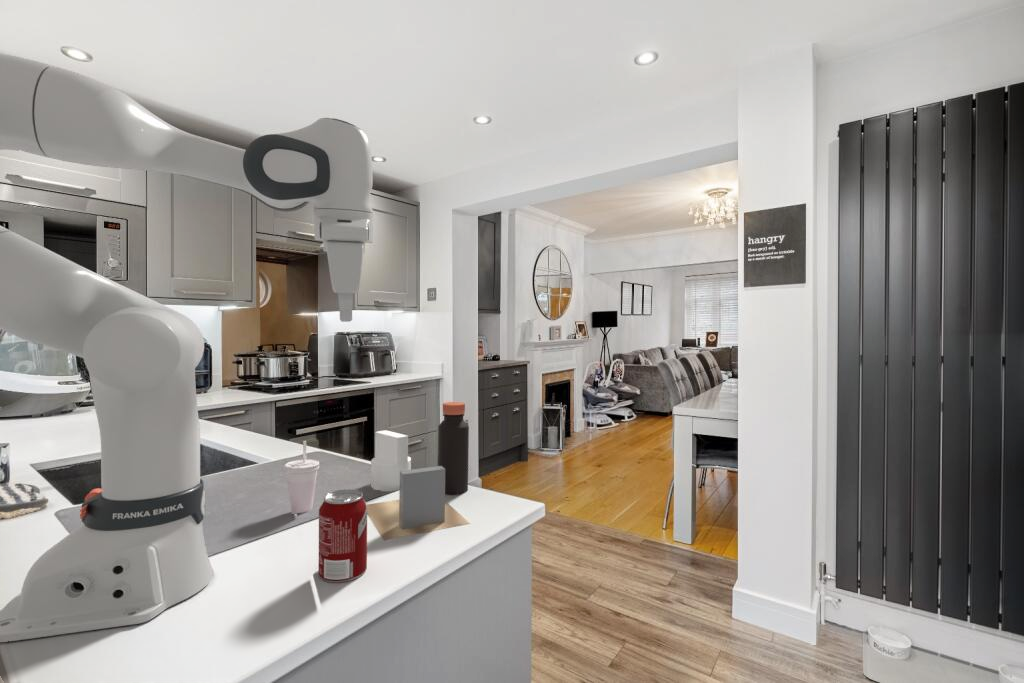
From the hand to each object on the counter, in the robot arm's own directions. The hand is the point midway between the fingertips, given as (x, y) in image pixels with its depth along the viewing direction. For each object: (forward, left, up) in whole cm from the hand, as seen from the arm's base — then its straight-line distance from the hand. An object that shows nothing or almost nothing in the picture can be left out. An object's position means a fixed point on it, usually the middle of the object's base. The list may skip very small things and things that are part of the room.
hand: (345, 317), depth 80 cm
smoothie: (-5, +20, -39) cm, 44 cm away
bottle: (+26, +18, -39) cm, 50 cm away
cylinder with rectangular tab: (+15, +29, -39) cm, 51 cm away
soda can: (-2, -9, -39) cm, 40 cm away
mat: (+14, +8, -38) cm, 42 cm away
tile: (+14, +3, -38) cm, 41 cm away
